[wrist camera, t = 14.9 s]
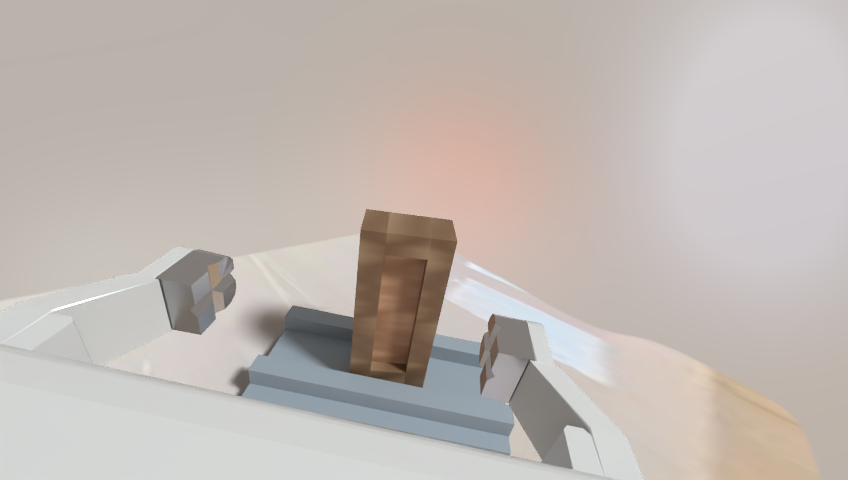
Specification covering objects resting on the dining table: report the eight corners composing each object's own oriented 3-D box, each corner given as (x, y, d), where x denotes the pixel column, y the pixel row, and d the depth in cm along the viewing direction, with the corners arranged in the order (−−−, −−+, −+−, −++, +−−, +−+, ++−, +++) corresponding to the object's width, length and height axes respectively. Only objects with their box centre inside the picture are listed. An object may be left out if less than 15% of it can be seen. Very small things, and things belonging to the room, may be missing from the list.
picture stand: (242, 410, 26) (238, 383, 24) (299, 320, 35) (298, 297, 33) (504, 464, 26) (516, 441, 24) (495, 360, 34) (503, 338, 33)
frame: (348, 382, 28) (360, 229, 21) (354, 353, 30) (366, 209, 24) (422, 387, 28) (457, 241, 22) (421, 358, 31) (452, 220, 24)
